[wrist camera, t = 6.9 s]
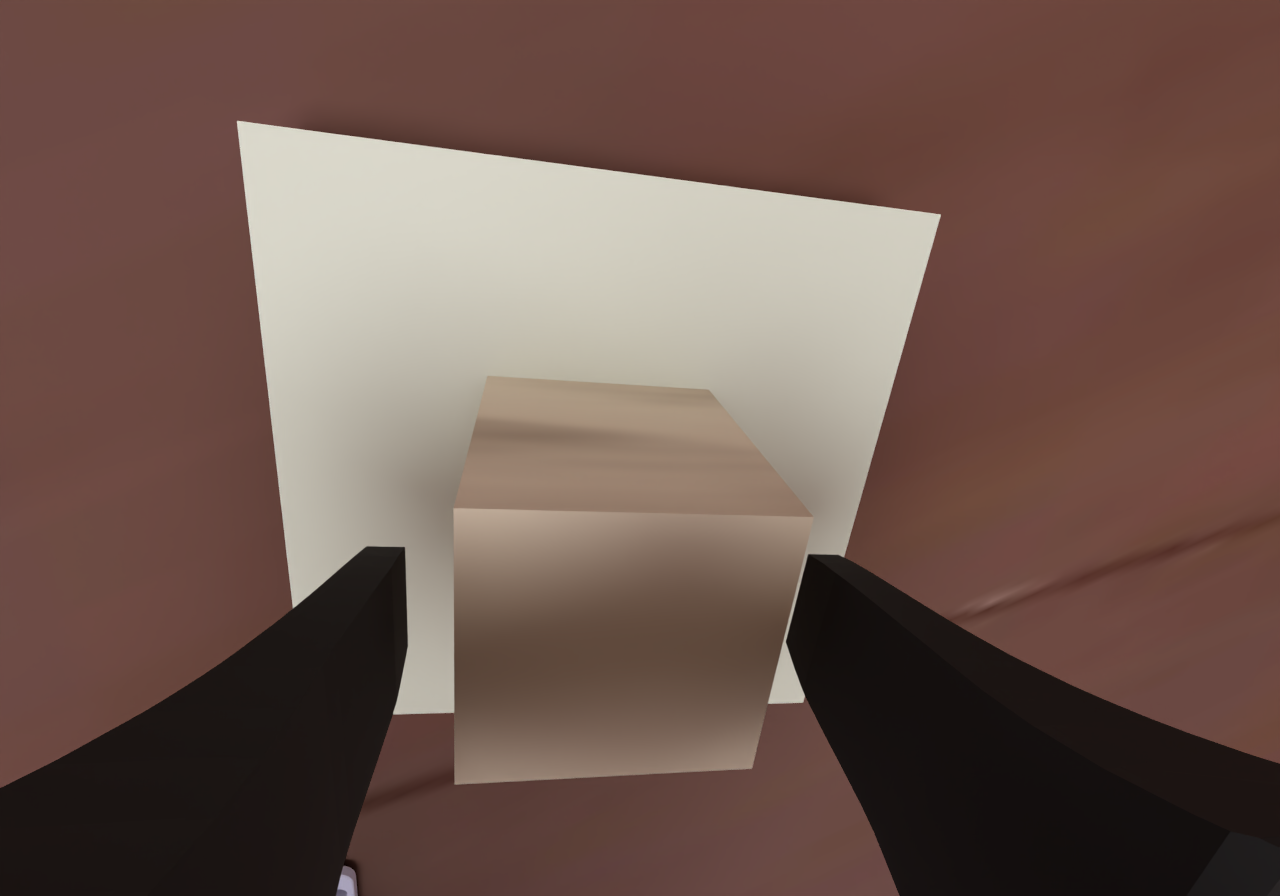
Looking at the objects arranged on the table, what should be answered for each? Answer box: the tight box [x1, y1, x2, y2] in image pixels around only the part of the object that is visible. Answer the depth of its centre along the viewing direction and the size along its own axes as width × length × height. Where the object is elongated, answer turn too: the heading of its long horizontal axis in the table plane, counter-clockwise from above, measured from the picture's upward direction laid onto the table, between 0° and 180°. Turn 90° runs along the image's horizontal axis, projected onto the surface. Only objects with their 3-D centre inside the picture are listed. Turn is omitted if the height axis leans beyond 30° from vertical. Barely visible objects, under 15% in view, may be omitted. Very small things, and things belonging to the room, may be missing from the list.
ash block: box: [453, 376, 814, 785], centre depth 12 cm, size 5×5×6 cm
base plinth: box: [237, 121, 941, 714], centre depth 16 cm, size 14×14×3 cm
